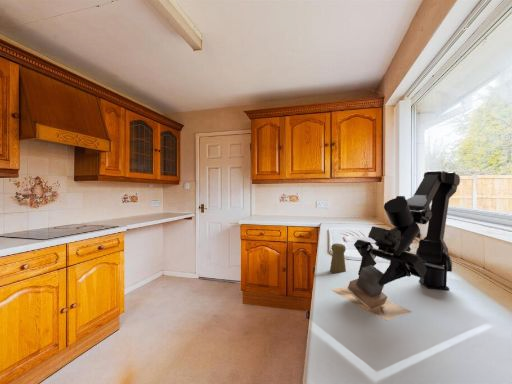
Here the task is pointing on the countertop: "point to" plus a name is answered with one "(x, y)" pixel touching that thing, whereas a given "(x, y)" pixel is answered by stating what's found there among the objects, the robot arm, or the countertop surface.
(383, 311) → the pine board
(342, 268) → the cork
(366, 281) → the sanding block
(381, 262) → the countertop surface
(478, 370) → the countertop surface
